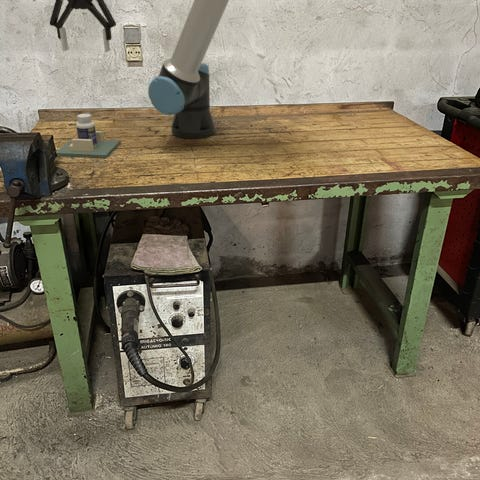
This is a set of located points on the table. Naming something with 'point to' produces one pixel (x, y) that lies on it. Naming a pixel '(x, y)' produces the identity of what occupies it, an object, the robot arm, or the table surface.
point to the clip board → (89, 147)
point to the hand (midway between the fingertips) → (86, 50)
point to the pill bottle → (86, 128)
